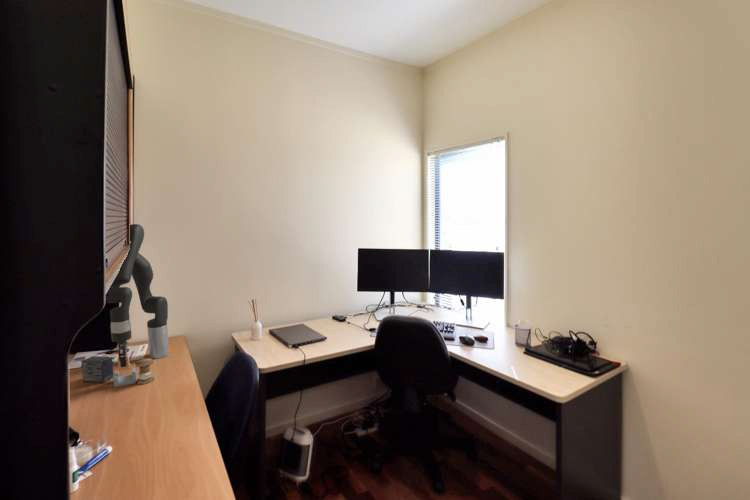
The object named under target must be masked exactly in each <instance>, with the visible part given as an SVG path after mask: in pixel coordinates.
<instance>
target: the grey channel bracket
mask: <svg viewBox="0 0 750 500" xmlns="http://www.w3.org/2000/svg"><path fill="white" fill-rule="evenodd" d="M113 376H114V377H113V378H112V379H113V385H114V388H118V387H122V386H126V385H127V386H128V385H132V384H137V367H136V366H135V367H132V369H131V374H128V375H122V376H120V371H119V370H114V373H113Z"/></svg>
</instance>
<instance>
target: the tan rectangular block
mask: <svg viewBox="0 0 750 500" xmlns="http://www.w3.org/2000/svg"><path fill="white" fill-rule="evenodd" d="M121 357H124V356H121ZM116 360H117V367H118V371H119V372H121V371H127V370H129V369H130V368H131V364H130V358H129V354H127V355H126V367H121V365H120V360H119V355H118V356H117V358H116Z"/></svg>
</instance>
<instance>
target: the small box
mask: <svg viewBox="0 0 750 500" xmlns="http://www.w3.org/2000/svg"><path fill="white" fill-rule="evenodd" d="M113 365H114V364H113V357H112V356H99V355H98V356H97V355H91V356H89V357H87V358H85V359H82V360H81V368H82V369H81V370H82V377H83V378H82V379H83V383H95V384H96V383H97V384H104V383H106V382H108V381H110V380H111V379H113V378H114V368H113Z"/></svg>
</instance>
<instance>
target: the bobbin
mask: <svg viewBox="0 0 750 500" xmlns="http://www.w3.org/2000/svg"><path fill="white" fill-rule="evenodd" d="M153 363H154V358H150V357H149V358H143V359H140V360H136V362H135V367H136V368H139V372H138V378H136V384H138V385H147V384H150V383H151V382H154V381H155V375H153V374H152V369H151V365H152V364H153Z"/></svg>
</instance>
